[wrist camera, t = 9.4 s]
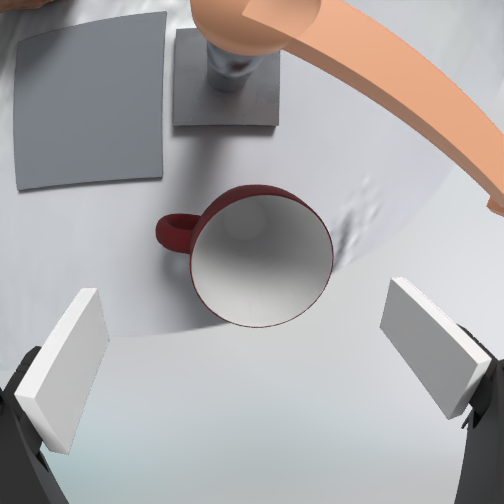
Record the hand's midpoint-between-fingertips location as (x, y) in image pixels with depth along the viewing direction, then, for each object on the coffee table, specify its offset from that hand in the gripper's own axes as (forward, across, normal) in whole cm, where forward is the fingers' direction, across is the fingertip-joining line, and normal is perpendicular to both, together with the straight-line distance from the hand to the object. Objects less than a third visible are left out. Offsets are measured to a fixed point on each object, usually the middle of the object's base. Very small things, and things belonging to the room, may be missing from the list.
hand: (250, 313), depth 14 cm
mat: (+14, -12, +11) cm, 22 cm away
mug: (+14, 0, 0) cm, 14 cm away
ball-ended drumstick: (+1, +6, +9) cm, 11 cm away
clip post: (+14, 0, +12) cm, 19 cm away
